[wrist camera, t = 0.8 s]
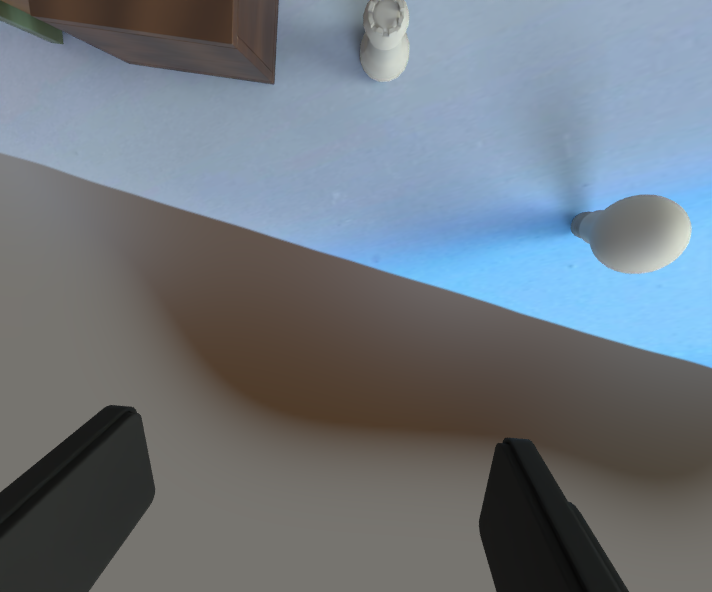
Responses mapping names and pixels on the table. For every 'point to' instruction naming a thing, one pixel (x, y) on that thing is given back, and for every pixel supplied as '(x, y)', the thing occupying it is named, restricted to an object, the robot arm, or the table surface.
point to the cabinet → (175, 33)
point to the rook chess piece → (385, 39)
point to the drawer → (28, 20)
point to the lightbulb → (635, 233)
